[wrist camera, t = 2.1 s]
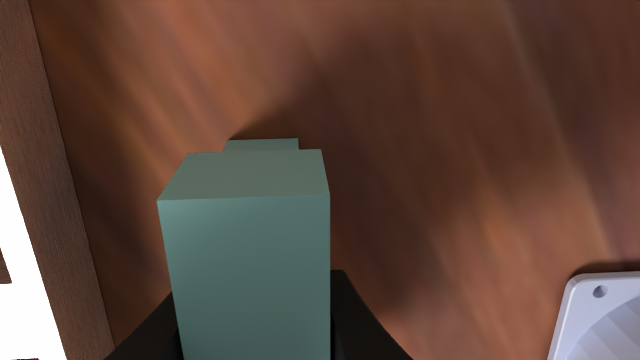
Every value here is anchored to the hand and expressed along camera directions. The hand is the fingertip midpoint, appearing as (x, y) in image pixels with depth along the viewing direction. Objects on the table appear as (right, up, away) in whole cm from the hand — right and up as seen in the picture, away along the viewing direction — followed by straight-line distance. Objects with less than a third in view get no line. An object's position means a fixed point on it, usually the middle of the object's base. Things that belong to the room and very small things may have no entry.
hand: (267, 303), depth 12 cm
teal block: (0, +1, +2) cm, 2 cm away
